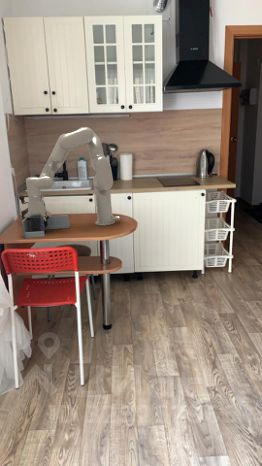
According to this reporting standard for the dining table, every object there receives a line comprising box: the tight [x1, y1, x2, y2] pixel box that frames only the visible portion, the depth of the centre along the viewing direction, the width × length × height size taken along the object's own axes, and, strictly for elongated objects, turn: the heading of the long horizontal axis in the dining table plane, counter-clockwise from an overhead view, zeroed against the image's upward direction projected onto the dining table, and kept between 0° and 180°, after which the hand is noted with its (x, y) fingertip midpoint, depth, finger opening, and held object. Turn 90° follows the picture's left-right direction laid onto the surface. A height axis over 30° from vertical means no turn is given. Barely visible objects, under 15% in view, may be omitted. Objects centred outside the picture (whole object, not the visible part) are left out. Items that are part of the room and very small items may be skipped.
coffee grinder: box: [18, 195, 29, 221], centre depth 252 cm, size 16×11×18 cm
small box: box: [29, 215, 49, 233], centre depth 226 cm, size 11×6×10 cm, turn 169°
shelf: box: [20, 214, 71, 239], centre depth 227 cm, size 24×17×10 cm
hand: (39, 227), depth 227 cm, fingers closed on small box, 7 cm apart
